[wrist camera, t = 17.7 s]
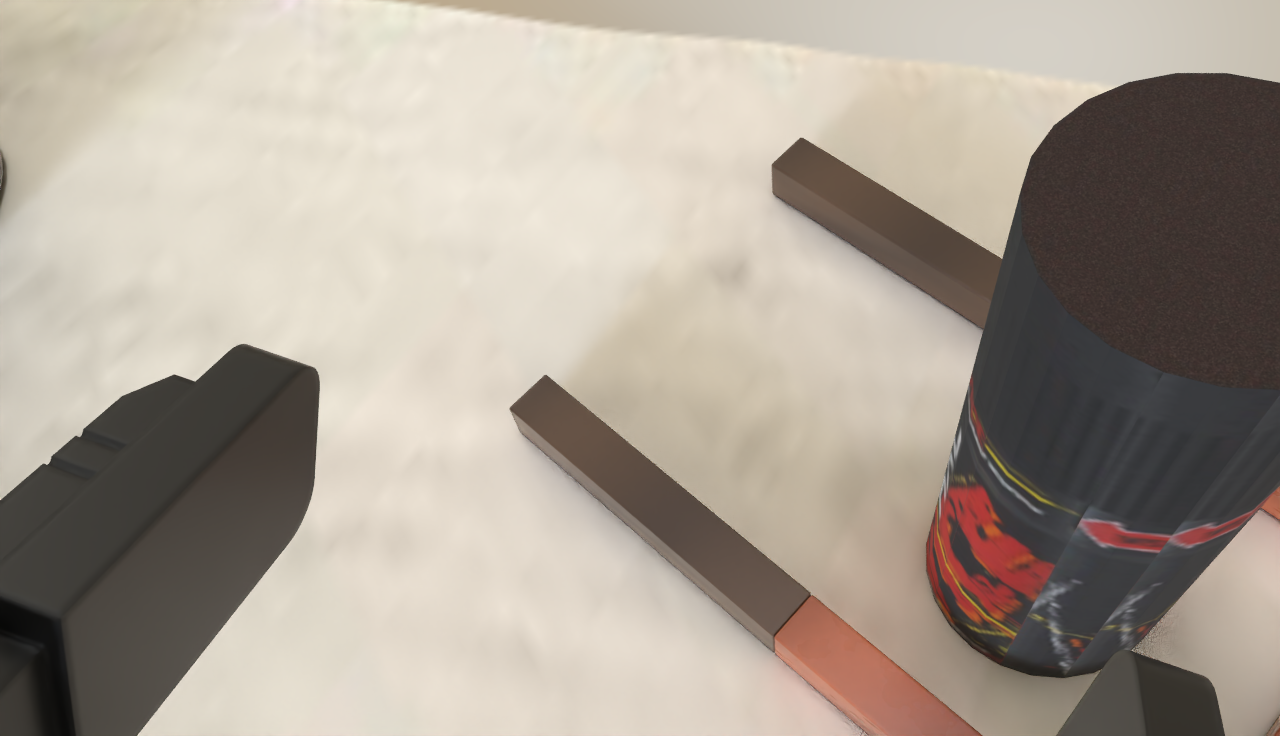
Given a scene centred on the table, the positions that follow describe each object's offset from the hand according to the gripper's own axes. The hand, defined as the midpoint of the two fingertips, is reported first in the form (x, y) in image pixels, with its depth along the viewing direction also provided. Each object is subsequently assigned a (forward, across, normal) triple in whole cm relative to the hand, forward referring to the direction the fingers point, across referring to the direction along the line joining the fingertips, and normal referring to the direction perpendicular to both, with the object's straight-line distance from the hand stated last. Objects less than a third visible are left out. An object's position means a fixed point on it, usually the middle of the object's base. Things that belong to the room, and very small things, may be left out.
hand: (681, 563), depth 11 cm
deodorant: (+16, -9, +11) cm, 22 cm away
